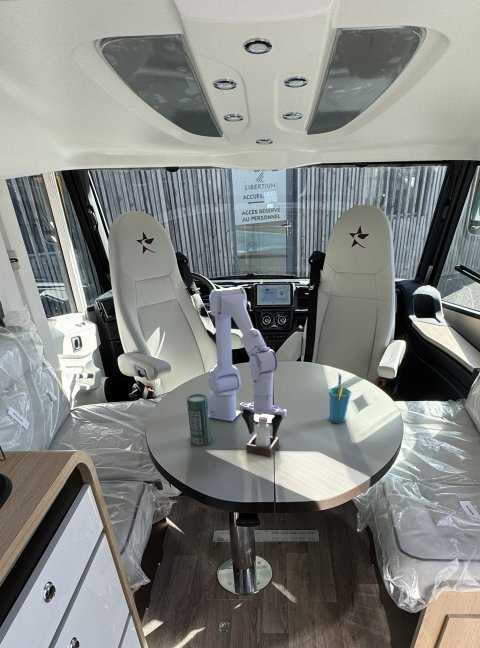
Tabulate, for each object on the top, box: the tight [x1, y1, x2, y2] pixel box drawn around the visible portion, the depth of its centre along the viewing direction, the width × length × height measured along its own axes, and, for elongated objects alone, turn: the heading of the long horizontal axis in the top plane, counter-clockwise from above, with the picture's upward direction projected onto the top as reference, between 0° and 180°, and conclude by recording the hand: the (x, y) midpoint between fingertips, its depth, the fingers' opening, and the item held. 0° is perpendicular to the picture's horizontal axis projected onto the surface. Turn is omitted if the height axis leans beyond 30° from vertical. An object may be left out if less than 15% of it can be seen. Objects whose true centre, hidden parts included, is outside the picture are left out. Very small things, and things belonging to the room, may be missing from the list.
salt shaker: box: [255, 416, 271, 448], centre depth 137 cm, size 5×5×11 cm
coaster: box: [254, 413, 274, 425], centre depth 158 cm, size 9×9×1 cm
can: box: [186, 393, 212, 446], centre depth 140 cm, size 6×6×15 cm
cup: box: [328, 372, 352, 424], centre depth 154 cm, size 14×8×15 cm, turn 179°
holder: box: [245, 433, 280, 458], centre depth 139 cm, size 8×8×3 cm
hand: (263, 434), depth 137 cm, fingers open, 7 cm apart
